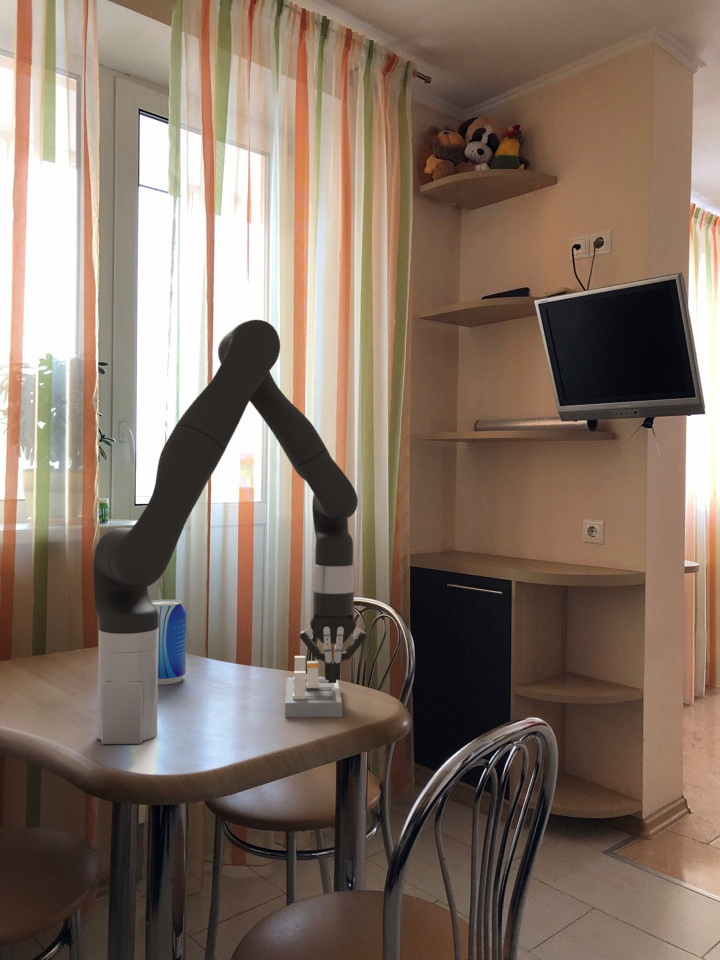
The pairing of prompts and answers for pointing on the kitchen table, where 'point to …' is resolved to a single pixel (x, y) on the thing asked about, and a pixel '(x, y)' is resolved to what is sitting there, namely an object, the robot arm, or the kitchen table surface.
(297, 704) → the breaker panel
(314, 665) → the breaker toggle
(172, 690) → the kitchen table surface
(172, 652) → the beer can
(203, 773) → the kitchen table surface
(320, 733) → the kitchen table surface
